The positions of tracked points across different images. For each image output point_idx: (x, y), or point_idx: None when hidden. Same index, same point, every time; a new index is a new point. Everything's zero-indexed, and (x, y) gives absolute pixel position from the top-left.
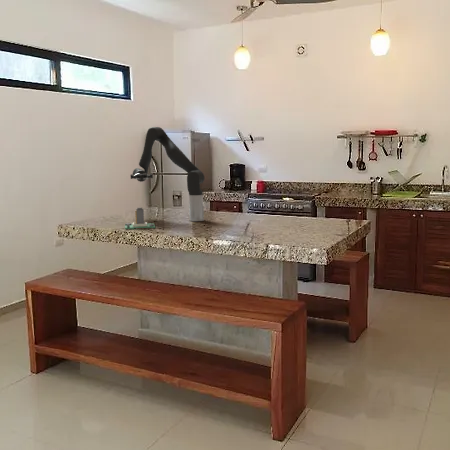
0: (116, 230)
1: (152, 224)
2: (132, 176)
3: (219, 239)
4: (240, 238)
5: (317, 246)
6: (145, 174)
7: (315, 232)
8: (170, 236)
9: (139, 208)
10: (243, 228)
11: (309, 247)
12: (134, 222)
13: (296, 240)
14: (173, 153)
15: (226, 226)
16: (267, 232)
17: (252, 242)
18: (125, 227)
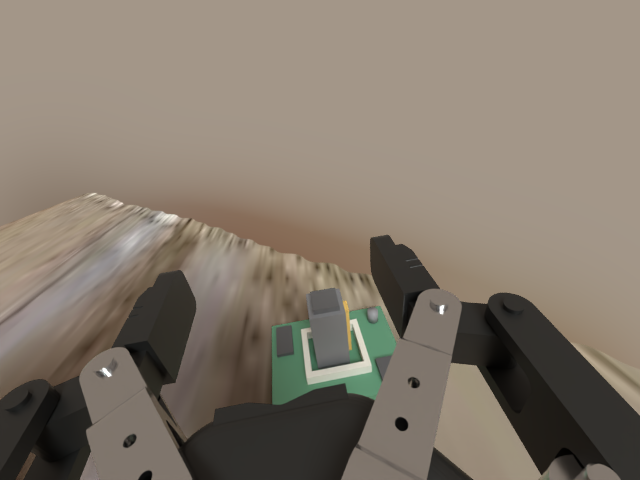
0: None
1: (280, 345)
2: (467, 313)
3: (165, 225)
4: (124, 232)
5: (73, 202)
6: (165, 423)
7: None
8: (245, 242)
9: (324, 290)
10: (7, 324)
11: (88, 199)
12: (361, 362)
13: (57, 224)
14: None
15: (12, 364)
16: (19, 275)
17: (130, 213)
18: (380, 311)
